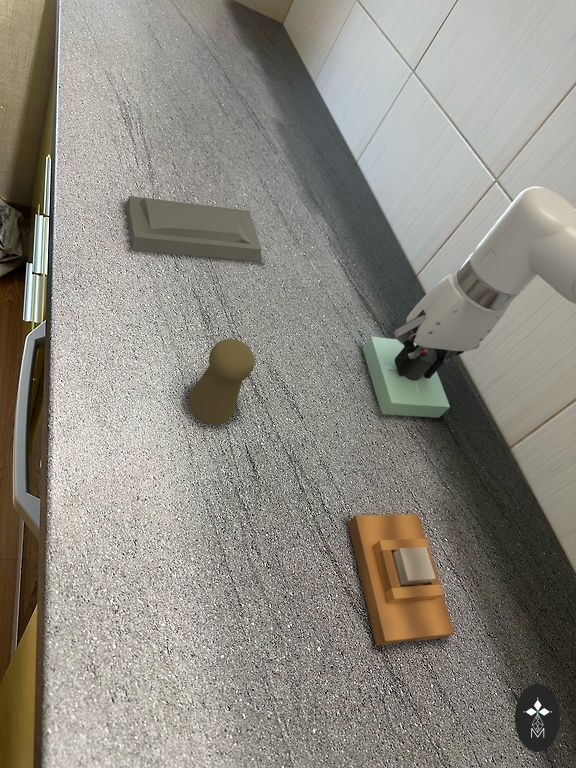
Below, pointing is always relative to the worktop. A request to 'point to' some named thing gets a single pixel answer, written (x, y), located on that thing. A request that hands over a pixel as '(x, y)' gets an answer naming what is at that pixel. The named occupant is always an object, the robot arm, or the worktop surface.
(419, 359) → the volume knob
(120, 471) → the worktop surface
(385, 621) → the light switch
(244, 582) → the worktop surface
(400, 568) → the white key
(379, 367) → the volume panel
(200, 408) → the brown pawn
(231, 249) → the grey bevelled block
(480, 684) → the worktop surface
